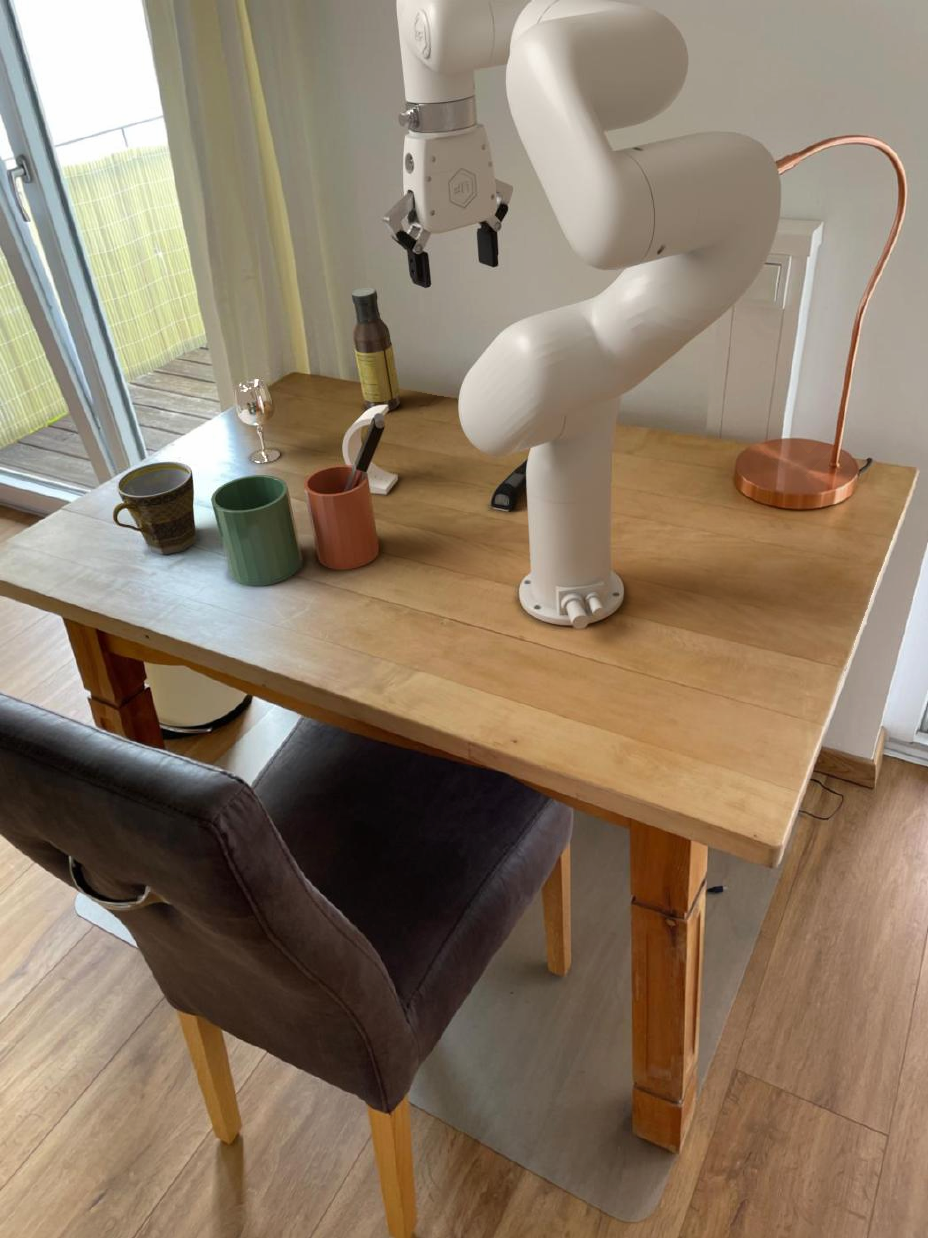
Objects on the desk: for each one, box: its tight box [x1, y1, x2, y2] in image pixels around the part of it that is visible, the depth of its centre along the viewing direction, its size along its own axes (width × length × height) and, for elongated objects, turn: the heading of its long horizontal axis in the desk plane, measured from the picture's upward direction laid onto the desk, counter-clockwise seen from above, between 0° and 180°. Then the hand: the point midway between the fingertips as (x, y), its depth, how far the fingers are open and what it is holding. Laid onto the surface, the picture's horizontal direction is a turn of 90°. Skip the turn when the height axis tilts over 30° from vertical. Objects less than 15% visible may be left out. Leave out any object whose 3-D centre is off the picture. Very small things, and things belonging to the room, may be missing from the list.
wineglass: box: [234, 379, 281, 464], centre depth 156 cm, size 6×6×12 cm
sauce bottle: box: [351, 287, 401, 412], centre depth 166 cm, size 6×6×20 cm
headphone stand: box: [341, 405, 399, 495], centre depth 146 cm, size 5×6×12 cm
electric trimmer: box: [490, 457, 528, 512], centre depth 144 cm, size 4×16×3 cm, turn 153°
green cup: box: [210, 474, 303, 587], centre depth 130 cm, size 10×10×11 cm
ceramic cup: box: [112, 461, 197, 556], centre depth 136 cm, size 13×10×10 cm
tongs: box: [344, 413, 386, 492], centre depth 129 cm, size 2×10×18 cm, turn 100°
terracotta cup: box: [303, 464, 380, 571], centre depth 131 cm, size 8×8×11 cm
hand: (455, 274), depth 119 cm, fingers open, 9 cm apart
